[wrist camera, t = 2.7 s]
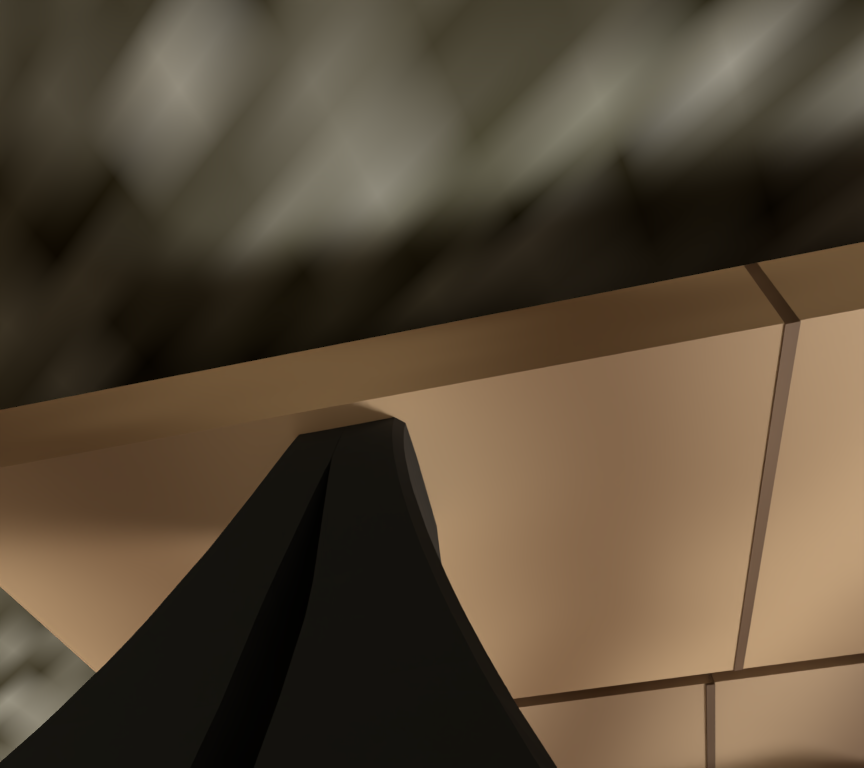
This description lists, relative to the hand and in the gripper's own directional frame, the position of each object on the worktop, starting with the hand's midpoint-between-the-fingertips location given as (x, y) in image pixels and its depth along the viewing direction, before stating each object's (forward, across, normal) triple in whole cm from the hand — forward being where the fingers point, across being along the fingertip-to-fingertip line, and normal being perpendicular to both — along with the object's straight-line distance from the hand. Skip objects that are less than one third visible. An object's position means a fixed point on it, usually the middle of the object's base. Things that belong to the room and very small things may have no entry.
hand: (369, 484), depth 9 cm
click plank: (+2, -2, +2) cm, 4 cm away
